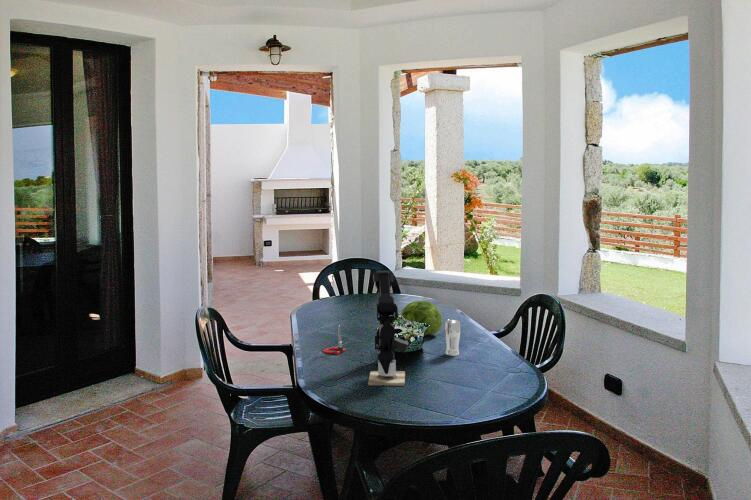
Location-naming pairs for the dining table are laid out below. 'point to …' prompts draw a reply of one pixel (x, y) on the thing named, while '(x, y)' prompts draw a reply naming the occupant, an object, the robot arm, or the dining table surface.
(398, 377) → the birch base board
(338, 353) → the tow hook
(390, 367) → the aluminium ring
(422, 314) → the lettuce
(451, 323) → the beer glass
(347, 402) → the dining table surface
